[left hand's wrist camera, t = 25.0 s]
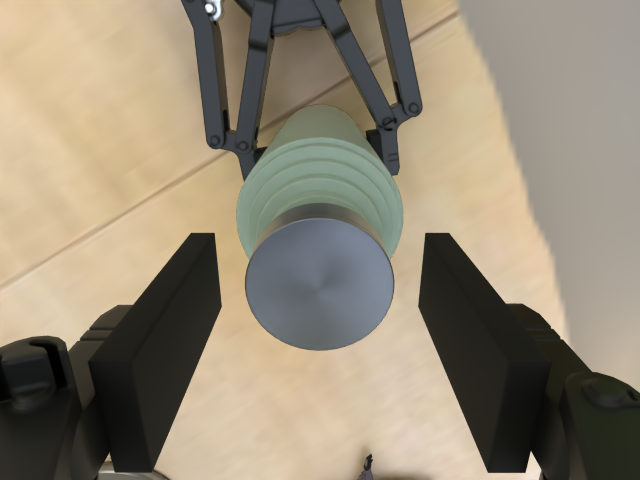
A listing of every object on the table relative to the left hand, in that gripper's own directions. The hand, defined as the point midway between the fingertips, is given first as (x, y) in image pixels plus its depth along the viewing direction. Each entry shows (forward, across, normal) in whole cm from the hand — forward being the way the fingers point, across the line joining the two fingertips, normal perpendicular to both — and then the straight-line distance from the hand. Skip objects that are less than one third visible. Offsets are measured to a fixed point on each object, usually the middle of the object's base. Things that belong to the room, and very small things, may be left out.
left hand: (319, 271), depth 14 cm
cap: (-1, 0, 0) cm, 1 cm away
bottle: (+24, 0, 0) cm, 24 cm away
